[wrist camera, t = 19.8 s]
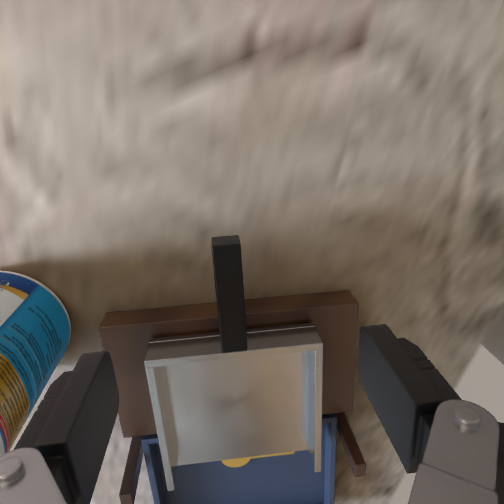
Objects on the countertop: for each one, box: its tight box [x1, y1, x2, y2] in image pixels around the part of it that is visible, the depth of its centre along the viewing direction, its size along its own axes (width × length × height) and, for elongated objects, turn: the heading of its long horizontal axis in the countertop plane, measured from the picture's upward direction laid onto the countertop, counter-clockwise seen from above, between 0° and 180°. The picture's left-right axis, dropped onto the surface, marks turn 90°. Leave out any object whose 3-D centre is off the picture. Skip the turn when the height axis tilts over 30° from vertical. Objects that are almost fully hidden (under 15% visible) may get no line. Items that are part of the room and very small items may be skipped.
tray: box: [141, 413, 337, 504], centre depth 33 cm, size 15×12×2 cm
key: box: [221, 452, 295, 467], centre depth 33 cm, size 6×3×1 cm, turn 92°
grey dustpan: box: [144, 235, 323, 491], centre depth 26 cm, size 11×18×2 cm, turn 3°
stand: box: [99, 290, 366, 504], centre depth 28 cm, size 17×13×5 cm
